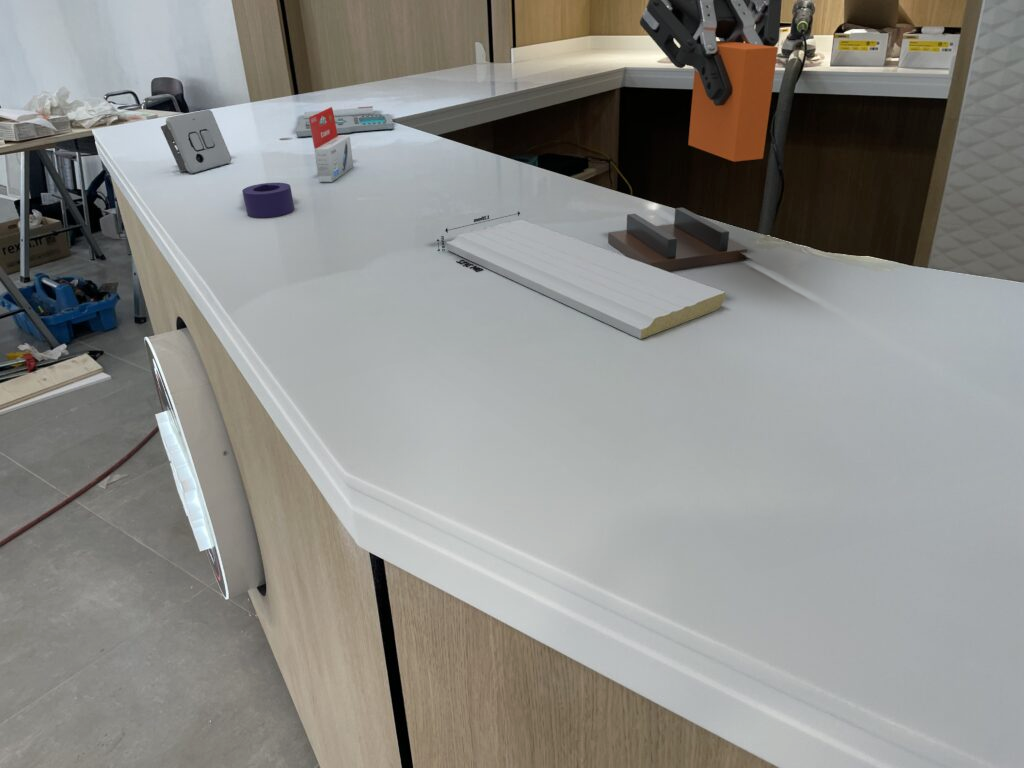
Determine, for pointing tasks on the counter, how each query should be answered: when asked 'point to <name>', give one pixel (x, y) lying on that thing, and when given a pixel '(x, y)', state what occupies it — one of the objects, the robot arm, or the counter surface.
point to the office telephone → (349, 121)
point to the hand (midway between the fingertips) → (743, 97)
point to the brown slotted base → (676, 242)
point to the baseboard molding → (587, 276)
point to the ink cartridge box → (330, 147)
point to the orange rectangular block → (736, 104)
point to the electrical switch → (196, 141)
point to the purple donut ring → (268, 200)
